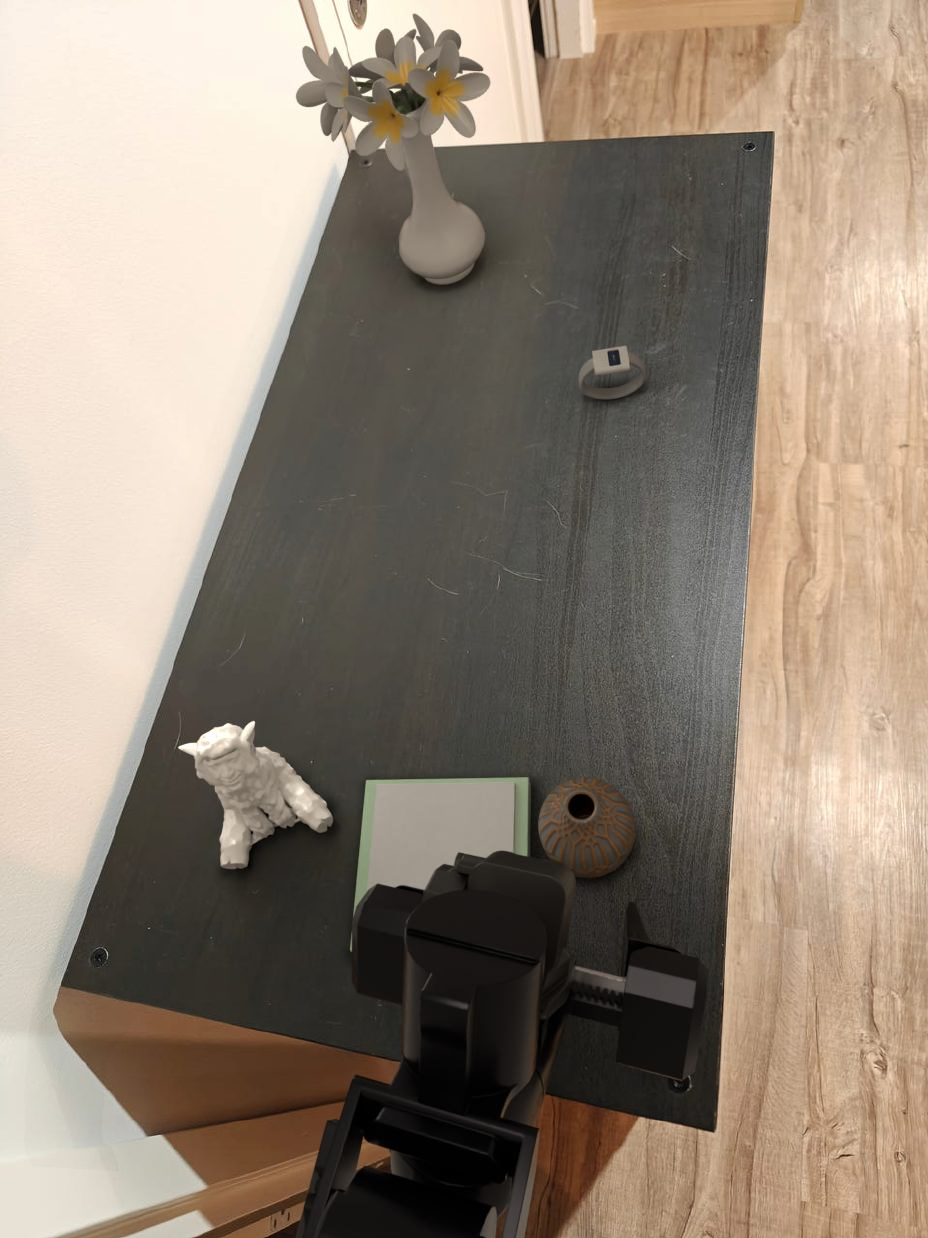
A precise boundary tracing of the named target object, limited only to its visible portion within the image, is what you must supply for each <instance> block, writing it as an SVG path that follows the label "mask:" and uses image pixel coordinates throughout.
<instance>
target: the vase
mask: <svg viewBox="0 0 928 1238" xmlns="http://www.w3.org/2000/svg"><path fill="white" fill-rule="evenodd" d="M632 809H633V808H631V805H630V803H629V802H628V800H627V798H626V797H625V795H623V794H622V792H620V790H619V789H617V788H616V787H615V786H613V784H610V783H609V782H607V781H604V780H602V779H599V778H596V777H587V776H586V777H585V776H582V777H575V778H572V779H569V780H566V781H564V782H561V783H560V784H558V785H557V786H556V787H555V788H553V790H552V791H551V792H549V794H548V795H547V797H546V798H545V800H544V802H543V803H542V805H541V808H540V810H539V816H538V822H537V824H538V828H537V829H538V837H539V840H540V843H541V846H542V848H543V851H544V852H545V854H546V855H547V856H548V858H549V859H550V861H555V862H560V863H563V864H565V865H566V866H568V867H569V868H570V869H571V870H572V872H573V873H574V876H575V877H576V878H577V877H578V878H584V879H593V878H599V877H604V876H606V875H608V874H610V873H612V872H614V871H615V870H617V869H618V868H619V867H620V866H621V865H623V863H625V861H626V860H627V858H628V857H629V855H630V854H631V851H632V850H633V846H634V843H635V838H636V821H635V816H634V812H633V810H632Z"/></svg>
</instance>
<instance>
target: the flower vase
mask: <svg viewBox="0 0 928 1238" xmlns="http://www.w3.org/2000/svg"><path fill="white" fill-rule="evenodd" d="M412 19H413V22H414V24H415V26H416V28H412V29H410V30H409V31H408V32H407V33H406V34H404V35H403V36H402V37H400V38H399V39H398V41H396V43H395V39H394V35H393V32H392V31H391V30H390V29H389V28H386V27H384V28H383V29H381V30H380V31H379V33H378V35H377V37H376V39H375V44H374V50H375V55H376V57H368V58H365V59H363V60H360V61H357V62H355V63H354V64H352V65H351V66H350V67H348V65H345V63H344V61H343V59H342V56H341V55H340V52H339V49H338V48H337V47H336V46H334V47H333V48H332V53H331V54H330V56H329V57H328V61H327V63H325V61H323V59H322V58H321V57H320V56H319V54H318V53H317V52H316V51H315V50H314V49H313V48H312V47H310V46H308V45H304V46H303V47H302V50H301V51H302V52H301V53H302V58H303V62H304V64H305V67H306V68H307V70H308V71H309V73H310V74H311V75H312V76H313V77H314V78H316V80H310V81H308V82H305V83H304V84H302V85H300V86H299V88H298V89H297V91H296V93H295V99H296V102H297V104H298V105H300V106H302V107H304V108H315V107H318V106H321V105H323V106H322V107H321V110H320V117H319V118H320V119H319V120H320V127H321V131H322V134H323V135H324V136H325V137H329V136H330V139H331V142H332V143H334V142H335V141H336V139H337V138H338V136H339V135H340V134H341V132H343V134H346V133H347V130H348V127H349V125H350V123H351V121H352V118H354V119H356V120H358V121H360V122H363V123H368V124H366V125H365V126H363V128H362V129H361V130H360V132H358V135H357V137H356V139H355V142H354V149H355V152H356V153H357V154H358V156H361V157H368V156H370V155H372V154H374V153H375V152H376V151H378V150H379V148H380V147H382V145H383V144H384V150H385V153H386V156H387V158H388V161H389V163H390V164H391V165H392V166H393V167H394V169H395V170H397V171H399V172H401V171H404V170H405V169H407V173H408V174H407V175H408V177H409V182H410V187H411V195H412V203H411V211H410V213H409V214H408V215H407V217H406V218H405V220H404V222H403V224H402V225H401V228H400V231H399V235H398V241H397V243H398V246H397V247H398V253H399V257H400V259H401V260H402V262H403V264H404V265H405V267H407V268H408V269H409V270H410V271H412V273H414V274H415V275H418V276H420V277H422V278H423V279H425V281H427V282H429V283H431V284H434V285H439V286H441V285H442V286H443V285H451V284H455V283H457V282H459V281H461V280H463V279H465V278H466V277H467V276H468V275H469V274H470V273H471V272H472V271H473V268H474V266H475V263H476V261H478V259H479V257H480V255H481V253H482V252H483V249H484V246H485V242H486V241H485V240H486V232H485V231H486V230H485V227H484V224H483V221H482V220H481V219H480V217H479V216H478V214H477V212H475V210H474V209H472V208H470V207H469V206H468V205H467V204H465V203H464V202H461V201H459V200H456V199H455V198H454V197H453V196H452V195H451V193H450V192H449V190H448V187H447V186H446V184H445V181H444V178H443V175H442V171H441V169H440V165H439V162H438V159H437V154H436V151H435V147H434V144H433V139H432V138H433V137H432V136H433V135H434V134H435V133H437V131H439V130H440V128H441V127H442V125H443V124H444V121H445V118H446V120H447V121H448V122H449V124H450V125H451V126H452V127H453V129H454V130H455V131H456V132H458V134H459V135H461V136H462V137H463V138H466V139H471V138H473V137H474V136H475V134H476V130H477V129H476V128H477V125H476V120H475V118H474V116H473V113H472V112H471V110H470V109H469V107H468V106H467V105H466V104H465V103H464V102H469V101H473V100H476V99H478V98H480V97H481V96H483V95H484V94H485V93H487V91H488V90H489V88H490V86H491V78H490V77H489V75H487V74H486V73H483V71H484V67H483V66H482V65H481V64H480V63H478V62H477V61H475V60H473V59H472V58H470V57H466V56H460V49H461V47H462V37H461V36H460V34H459V33H458V32H457V31H456V30H454V29H450V28H447V29H444V30H443V31H441V32H440V34H439V35H438V37H437V39H436V41H435V34H434V32H433V30H432V28H431V27H430V25H429V24H428V23H427V22H426V21H425V19H423V18H422V16H420V15H418V14H417V13H412ZM417 32H418V34H419V35H417ZM414 40H416V41H417V43H418V44H419V46H420V48H421V49H422V51H423V52H422V53H421V54H420V55H419V56H418V59H417V47H416V44H415V41H414ZM464 72H468V73H464ZM463 73H464V74H463ZM458 74H460V75H459V76H458ZM353 78H357V79H368V80H365V81H354V79H353ZM393 90H397V91H395V92H394V91H393ZM368 92H371V96H370V95H365V94H366V93H368ZM384 142H385V143H384Z"/></svg>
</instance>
